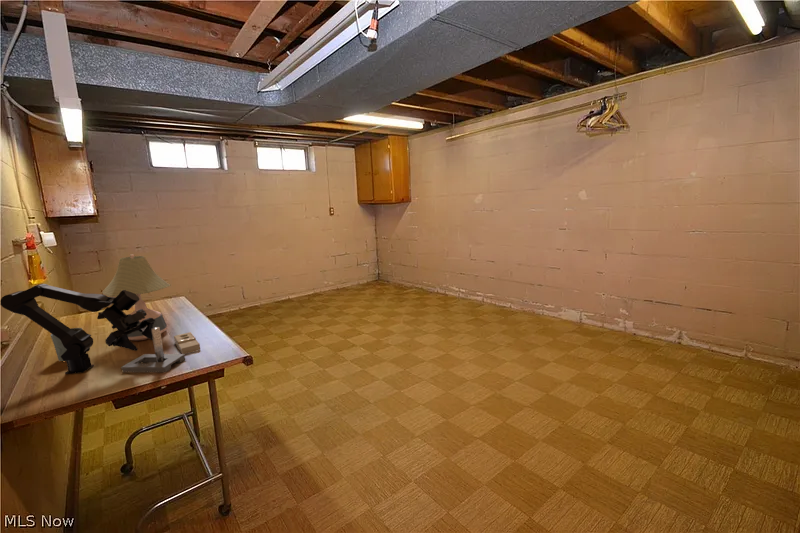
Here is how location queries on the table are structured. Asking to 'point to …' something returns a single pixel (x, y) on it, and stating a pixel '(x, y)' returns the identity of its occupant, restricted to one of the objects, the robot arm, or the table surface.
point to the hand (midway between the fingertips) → (146, 345)
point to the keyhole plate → (153, 363)
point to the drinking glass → (60, 344)
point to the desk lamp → (138, 288)
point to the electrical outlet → (186, 343)
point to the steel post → (158, 344)
